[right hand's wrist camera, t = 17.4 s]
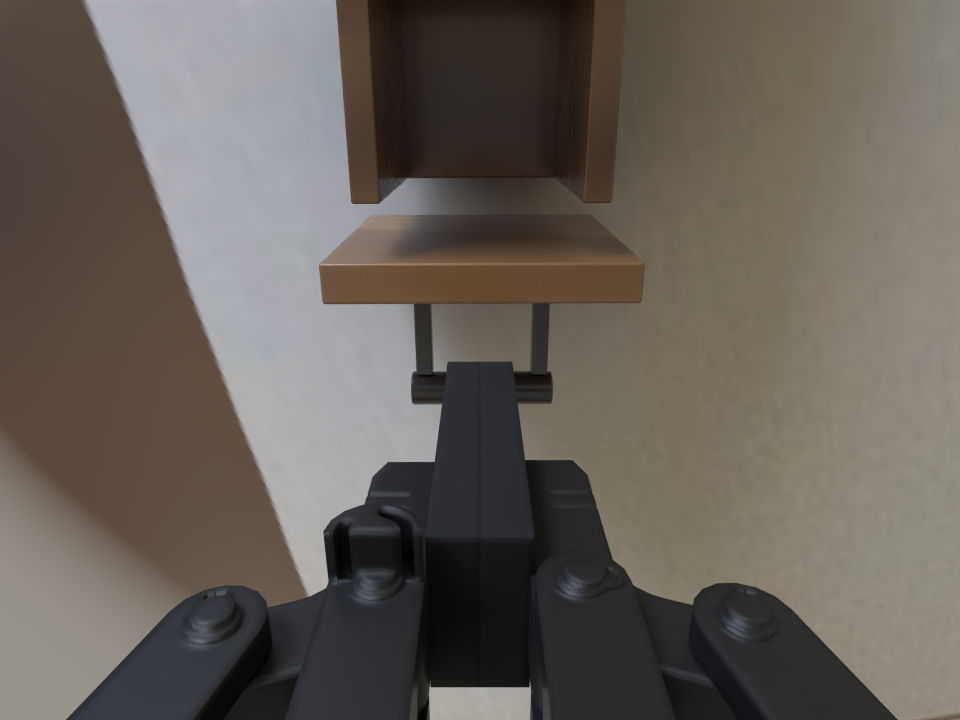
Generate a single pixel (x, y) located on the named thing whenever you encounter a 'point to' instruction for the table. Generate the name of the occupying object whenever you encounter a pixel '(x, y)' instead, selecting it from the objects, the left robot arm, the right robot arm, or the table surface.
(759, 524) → the table surface
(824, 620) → the table surface
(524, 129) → the drawer
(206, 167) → the table surface
